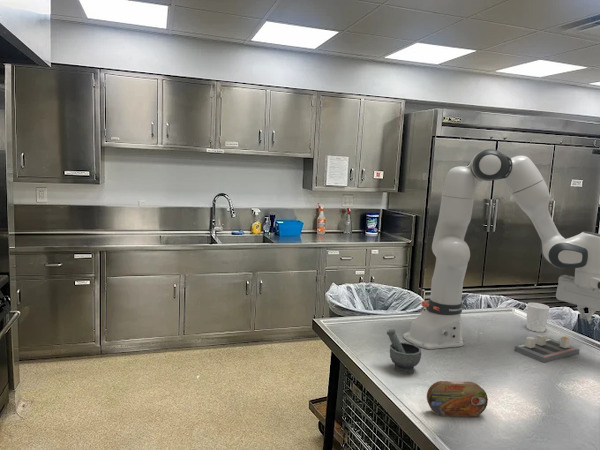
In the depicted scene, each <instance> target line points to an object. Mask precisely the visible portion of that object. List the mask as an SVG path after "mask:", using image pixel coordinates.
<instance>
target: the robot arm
mask: <svg viewBox="0 0 600 450" xmlns="http://www.w3.org/2000/svg"><path fill="white" fill-rule="evenodd" d="M498 180H501V181H503V182H504V183H505V185H506V187H507V188H508V190H509V192H510V193H511V195H512V197H513V199H514V201H515V202H516V203H517V205H518V207H519V208H520V209H521V210H522V211H523V213H525V214H526V216H527V217H528V218H529V219H530V221H531V223H532V224H533V225H532V226H533V227H534V229H535V231H536V233H537V235H538V237H539V239H540V253H541V256H542V257H543V259H544V260H546V262H548V263H550V264H551V266H554V268H558V269H562V270H566V269H571V270H573V269H574V276H573V275H567V274H562V275H560V276H559V277H558V282H557V283H558V285H557V287H556V292H555V297H556V299H557V301H561V302H566V303H569V304H573V305H577V307H576V308H577V311H578V313H579V319H581V320H585V321H588V322H589V321H592V317H593V315H594V314H596V311H598V312H600V234H599V233H596V232H591V231H582V232H581V233H579V234H576V235H574V236H571V237H567V238H565V237H564V236H563V235H562V234H561V233H560V232H559V230H558V227H556V225H555V221H554V220H553V218H552V216H551V214H550V209H549V205H550V202H551V193H550V190H549V187H548V185H547V182H546V180H545V178H544V177H543V175H542V174H541V172H540V170H539V169H538V167H537V166H536V165H535V163H534V162H533V161H532V159H531V158H529V157H528V156H526V155H515V156H513V157H509V156H507V155H506V154H504V153H502V152H500V151H498V150H497V149H492V148H490V149H482V150H480V151H478V152H477V153H476V154H475V155H474V156H473V157H472V159H471V160H470V161H469V162H468V164H467V165H466V166H461V165H459V166H455V167H452V168H451V169H450V170H448V172H447V175H446V177H445V181H444V184H443V187H442V194H441V200H440V207H439V212H438V213H439V214H438V217H437V218H438V219H437V223H436V226H435V231H434V235H433V239H432V244H431V251H432V254H433V255H434V256H435V266H434V270H433V274H432V277H431V283H430V284H431V285H430V286H431V287H430V297H429V299H428V301H426V300H422V301H421V302H420V305H421V306H422V307H424V308H425V309H424V310H423V311H422V312H421V313H420V314H419V315H418V316H417V317H416V318H415V319H413V321H412V322H411V324H410V328H409V331H407V332H405V333H403V335H402V337H403V338H404V339H405V341H407V342H408V343H410V344H414V345H416V346H418V347H419V348H421V349H422V348H423V349H427V350H433V349H434V350H435V349H436V350H437V349H446V348H457V347H463V346H464V340H463V325H462V324H463V323H462V316H461V314H462V312H463V302H462V297H463V287H464V281H465V278H466V277H465V276H466V272H467V268H468V263H469V261H470V258H471V251H470V247H469V245H468V243H467V242H466V241H465V237H466V234H467V231H468V227H469V225H470V222H471V220H472V214H473V207H474V201H475V195H476V194H475V193H476V188H477V186H478V184H480V183H481V182H491V181H498ZM585 308H588V310H587V311H588V313H585V310H584V309H585Z"/></svg>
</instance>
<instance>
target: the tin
mask: <svg viewBox="0 0 600 450" xmlns="http://www.w3.org/2000/svg"><path fill="white" fill-rule="evenodd" d="M427 389H428V390H427V393H426V400H427V404H428V405H429V408H430V409H431V411H432V412H433V413H434V414H436V415H437V416H440V417H461V418H463V417H466V418H467V417H469V418H473V417H477V416H479V415H481V414H482V413H484V411H485V410H486V408H487V406H488V402H489V398H488V395H487V392H486V391H485V389H484V388H483V387H481V386H480V385H479V384H478V383H476V382H473V381H461V380H458V381H456V380H455V381H453V380H440V381H436V382H434V383H432V384H431V385H430V386H429V388H427Z"/></svg>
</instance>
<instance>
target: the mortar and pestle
mask: <svg viewBox="0 0 600 450" xmlns="http://www.w3.org/2000/svg"><path fill="white" fill-rule="evenodd" d="M386 335H387V336H388V337H389V340H390V345H389V357H390V360H391V361H392V363H393V364H394V366H393V368H394V371H396V372H397V373H398V374H399V373H400V374H404V375H410V374H412V373H415V367H416V366H417V365H418V364H419V363H420V361H421V359H422V347H419V346H417V345H415V344H413V343H410V342H401V341H400V339H399V337H398V335H397V333H396V329H394V328H393V329H392V328H391V329H388V330H387V331H386Z"/></svg>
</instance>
